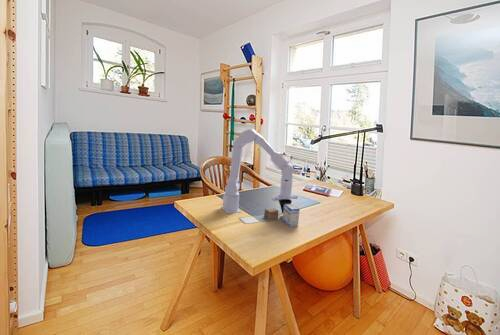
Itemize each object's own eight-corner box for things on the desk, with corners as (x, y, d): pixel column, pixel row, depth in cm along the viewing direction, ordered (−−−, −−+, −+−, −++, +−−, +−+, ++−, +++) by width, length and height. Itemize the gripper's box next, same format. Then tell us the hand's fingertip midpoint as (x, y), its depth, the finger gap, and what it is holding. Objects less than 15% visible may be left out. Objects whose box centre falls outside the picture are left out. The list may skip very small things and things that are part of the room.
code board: (237, 218, 133) (237, 218, 133) (274, 214, 143) (274, 213, 143) (244, 224, 126) (244, 224, 126) (282, 219, 136) (282, 219, 136)
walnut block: (264, 216, 138) (264, 208, 138) (272, 214, 141) (273, 207, 140) (269, 219, 134) (269, 211, 133) (277, 218, 136) (278, 210, 135)
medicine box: (282, 221, 134) (283, 204, 132) (290, 220, 136) (291, 203, 134) (289, 227, 127) (291, 209, 125) (298, 226, 128) (299, 208, 127)
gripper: (277, 190, 131) (275, 217, 134) (302, 188, 138) (300, 214, 140) (270, 186, 137) (268, 212, 140) (294, 185, 144) (292, 209, 146)
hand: (283, 213), depth 140 cm, fingers closed
